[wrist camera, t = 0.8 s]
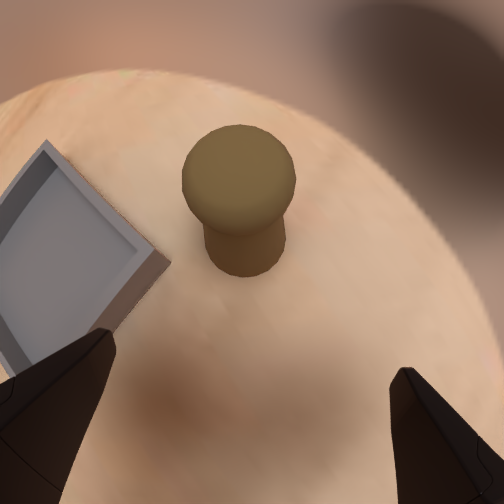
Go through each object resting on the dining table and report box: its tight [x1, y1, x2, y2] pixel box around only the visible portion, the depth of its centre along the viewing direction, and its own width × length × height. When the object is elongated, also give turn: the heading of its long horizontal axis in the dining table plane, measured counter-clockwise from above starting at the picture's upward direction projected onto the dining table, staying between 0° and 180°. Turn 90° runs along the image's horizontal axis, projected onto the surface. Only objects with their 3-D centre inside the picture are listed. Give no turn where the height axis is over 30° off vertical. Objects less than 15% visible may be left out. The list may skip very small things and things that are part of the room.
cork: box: [182, 125, 296, 277], centre depth 17 cm, size 6×6×11 cm
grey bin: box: [0, 139, 171, 378], centre depth 20 cm, size 16×16×4 cm
